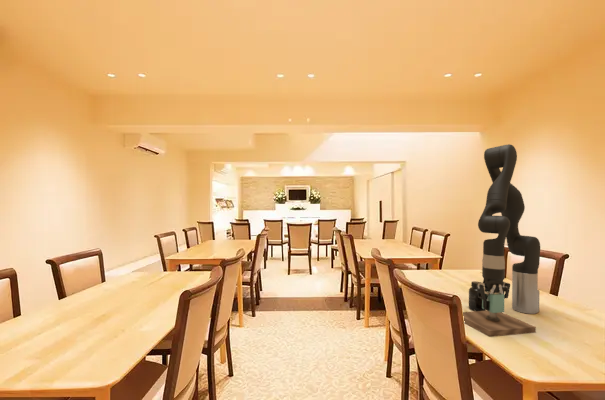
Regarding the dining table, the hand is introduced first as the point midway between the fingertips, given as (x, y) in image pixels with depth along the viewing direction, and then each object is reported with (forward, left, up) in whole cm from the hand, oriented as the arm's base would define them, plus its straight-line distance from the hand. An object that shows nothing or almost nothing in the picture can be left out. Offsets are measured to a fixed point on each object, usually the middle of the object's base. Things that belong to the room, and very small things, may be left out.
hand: (492, 309), depth 120 cm
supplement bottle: (-7, -16, -6) cm, 19 cm away
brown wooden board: (0, 0, -6) cm, 6 cm away
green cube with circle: (0, 0, 0) cm, 0 cm away
